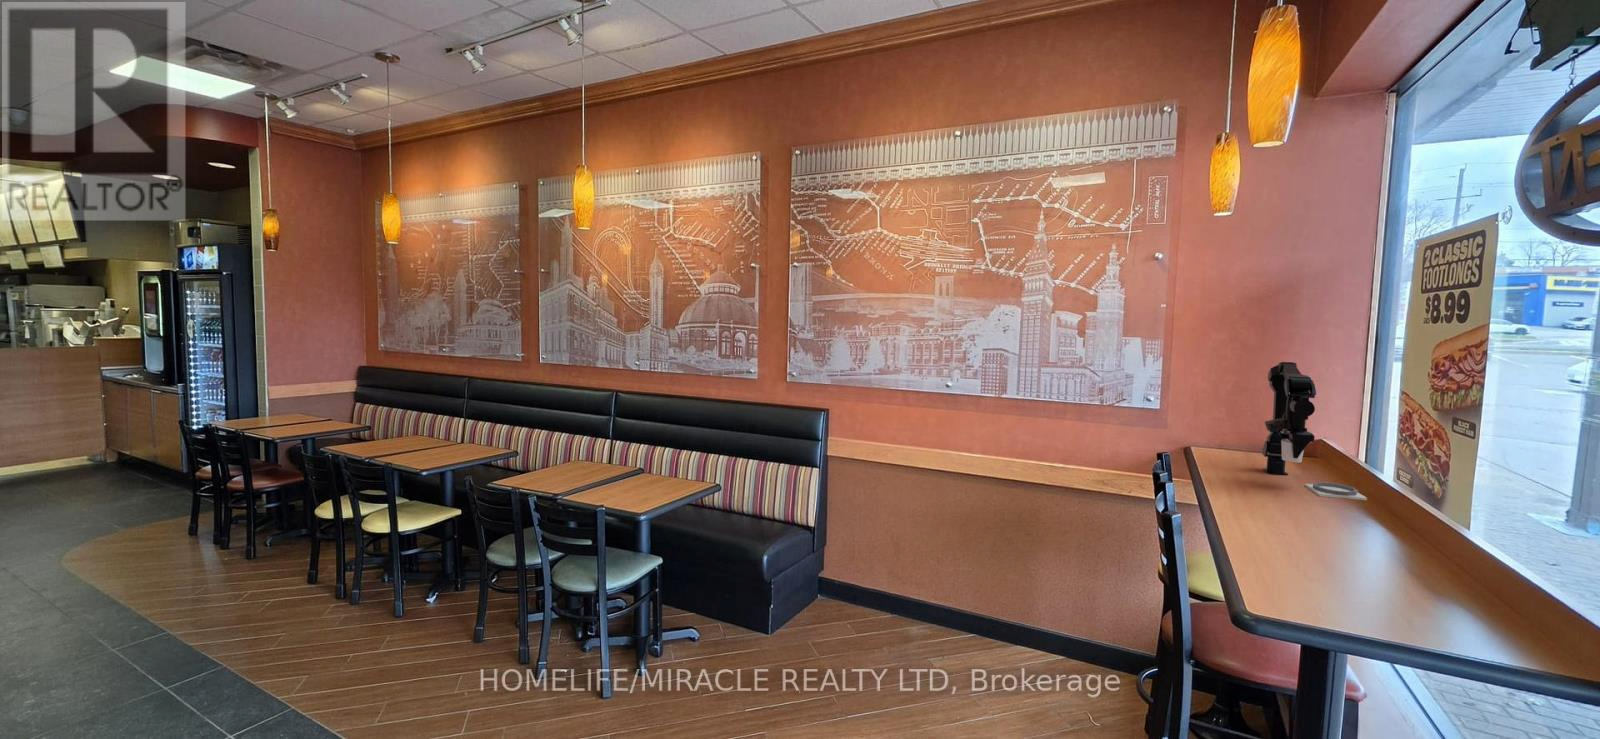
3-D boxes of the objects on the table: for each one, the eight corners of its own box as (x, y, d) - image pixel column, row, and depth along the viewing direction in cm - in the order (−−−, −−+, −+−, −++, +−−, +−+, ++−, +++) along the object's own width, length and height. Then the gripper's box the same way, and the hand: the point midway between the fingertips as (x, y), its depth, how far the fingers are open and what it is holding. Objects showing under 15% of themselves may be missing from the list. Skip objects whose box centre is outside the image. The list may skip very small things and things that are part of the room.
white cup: (1308, 463, 227) (1310, 443, 226) (1288, 462, 227) (1290, 442, 227) (1294, 458, 234) (1296, 438, 233) (1274, 457, 234) (1276, 438, 234)
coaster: (1304, 485, 234) (1305, 480, 234) (1349, 489, 230) (1349, 483, 230) (1319, 496, 222) (1320, 490, 222) (1366, 500, 218) (1367, 494, 218)
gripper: (1260, 406, 240) (1257, 448, 242) (1277, 415, 223) (1273, 460, 225) (1297, 408, 236) (1293, 451, 238) (1317, 417, 219) (1312, 463, 221)
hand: (1292, 456), depth 231 cm, fingers closed on white cup, 6 cm apart
